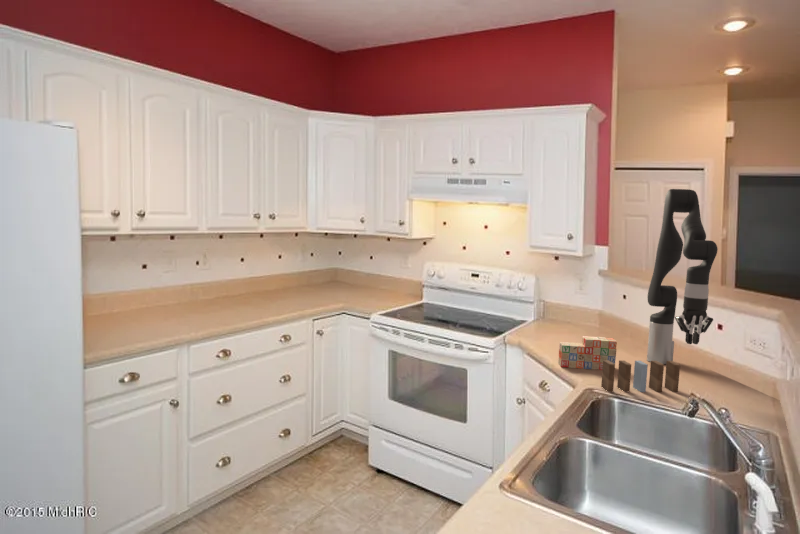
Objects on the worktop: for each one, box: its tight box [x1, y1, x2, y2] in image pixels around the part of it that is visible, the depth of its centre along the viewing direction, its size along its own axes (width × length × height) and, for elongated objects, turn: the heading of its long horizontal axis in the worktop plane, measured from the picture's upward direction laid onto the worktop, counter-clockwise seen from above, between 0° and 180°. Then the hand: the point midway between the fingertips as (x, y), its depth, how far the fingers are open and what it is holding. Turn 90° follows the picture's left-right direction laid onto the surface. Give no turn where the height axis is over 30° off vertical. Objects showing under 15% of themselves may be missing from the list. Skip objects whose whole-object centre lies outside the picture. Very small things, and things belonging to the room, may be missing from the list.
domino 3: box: [648, 361, 665, 393], centre depth 191 cm, size 2×5×10 cm, turn 5°
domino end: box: [600, 360, 616, 392], centre depth 189 cm, size 2×5×10 cm, turn 5°
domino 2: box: [632, 360, 649, 393], centre depth 190 cm, size 2×5×10 cm, turn 5°
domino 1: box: [616, 359, 632, 392], centre depth 190 cm, size 2×5×10 cm, turn 5°
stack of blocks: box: [557, 335, 618, 371], centre depth 218 cm, size 21×6×12 cm, turn 83°
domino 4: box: [664, 360, 681, 393], centre depth 191 cm, size 2×5×10 cm, turn 5°
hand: (692, 343), depth 190 cm, fingers closed
